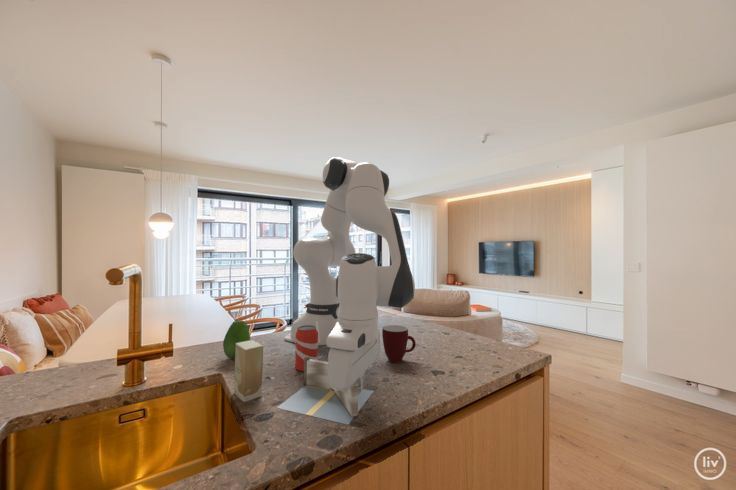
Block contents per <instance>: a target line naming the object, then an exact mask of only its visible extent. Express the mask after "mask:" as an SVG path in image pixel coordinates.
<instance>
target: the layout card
mask: <svg viewBox="0 0 736 490" xmlns="http://www.w3.org/2000/svg"><path fill="white" fill-rule="evenodd" d="M373 393H374V390H370V389H365V388H364V389H363V390H362V391H361V393H360V394H358V413H359V412H360V411H361V409H362V408H363V406H365V404H366V402H368V400H369V399H370V397H371V396H372V394H373ZM276 409H279V410H284V411H288V412H292V413H296V414H300V415H305V416H310V417H314V418H318V419H322V420H327V421H331V422H334V423H338V424H343V425H346V426H347V425H348V426H349V425H350V424H351V422H352V420H353V419H354V418H355V417H356V416H352V415H351V414H350V412H349V411H348V410H347V408H346V407H345V406H344V404H343V403H342V401H341V400H340V399H339V397H338V396H337V395H336V393H335V392H334V391H332V388H331V389H327V388H322V387H316V386H311V385H307V386H304V385H303V387H301V388H300V389H299V390H298V391H296V392H295V393H293V395H291V396H289V397H288V398H287V399H285V401H283V402H282V403H281V404H279V405H278V406H277V407H276Z"/></svg>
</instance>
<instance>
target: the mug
mask: <svg viewBox="0 0 736 490" xmlns="http://www.w3.org/2000/svg"><path fill="white" fill-rule="evenodd" d="M381 336H382V342H383V350H384V354H385V356H386V358H387V360H388V361H389V362H390V363H400V362H401V361H402V360H403V358H404V356H405V354H406V353H410V352H412V351H414V350H415V348H416V343H417V342H416V340H415V338H414V337H413V336H411V335H409V328H408V327H406V326H403V325H397V324H395V325H394V324H391V325H389V324H388V325H386V326H385V325H384V326H383V327H382V334H381ZM408 340H409V341H411V342H412V345H411V347H410V348H408V349H407V346H408Z"/></svg>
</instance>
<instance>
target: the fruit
mask: <svg viewBox="0 0 736 490" xmlns="http://www.w3.org/2000/svg"><path fill="white" fill-rule="evenodd" d="M249 340H251V335H250V331H249V326H248V324H247V323H246V322H245V321H244V320H241V319H237V320H235V321H233V322H231V324H230V326H229V328H228V329H227V332H226V334H225V336H224V338H223V341H222V342H223V343H222V346H223V347H222V348H223V352H224V354H225V356H226V357H227V358H228V359H231V360H233V361H235V350H236V343H240V342H244V341H249Z"/></svg>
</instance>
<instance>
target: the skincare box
mask: <svg viewBox="0 0 736 490" xmlns="http://www.w3.org/2000/svg"><path fill="white" fill-rule="evenodd" d="M263 363H264V345H263V344H260V343H259V342H257V341H255V340H253V339H250V340H249V341H244V342H240V343H236V350H235V360H234V384H233V386H234V387H233V393H234V395H236V397H237V398H238V399H240V400H241V401H242V402H243V403H245V402H248V401H251V400H255V399H257V398H260V397H262V396H263V395H262V394H263V372H264V371H263V368H264V367H263V366H264V364H263Z"/></svg>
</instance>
